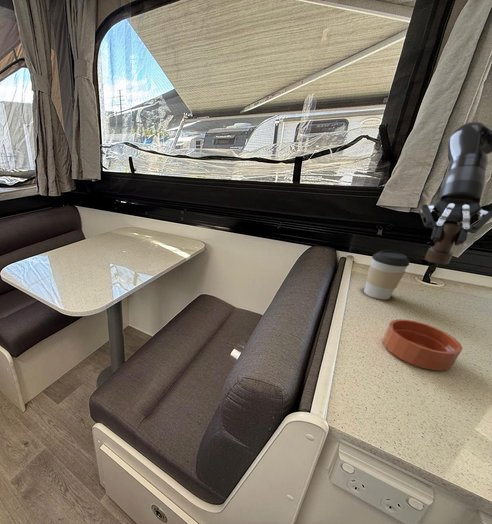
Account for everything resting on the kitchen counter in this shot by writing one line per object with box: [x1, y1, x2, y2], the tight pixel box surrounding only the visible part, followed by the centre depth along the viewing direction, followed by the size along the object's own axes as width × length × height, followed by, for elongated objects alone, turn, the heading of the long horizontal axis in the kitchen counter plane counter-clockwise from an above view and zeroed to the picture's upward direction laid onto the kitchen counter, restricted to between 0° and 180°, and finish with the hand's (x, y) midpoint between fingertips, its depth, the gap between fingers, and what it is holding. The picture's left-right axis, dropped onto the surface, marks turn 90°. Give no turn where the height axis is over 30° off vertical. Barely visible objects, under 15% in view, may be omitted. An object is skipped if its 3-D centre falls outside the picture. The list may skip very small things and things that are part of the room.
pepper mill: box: [424, 223, 462, 265], centre depth 71 cm, size 5×5×10 cm
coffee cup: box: [363, 249, 411, 300], centre depth 88 cm, size 9×9×15 cm
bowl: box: [382, 319, 463, 371], centre depth 65 cm, size 12×12×6 cm
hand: (447, 242), depth 69 cm, fingers closed on pepper mill, 3 cm apart
